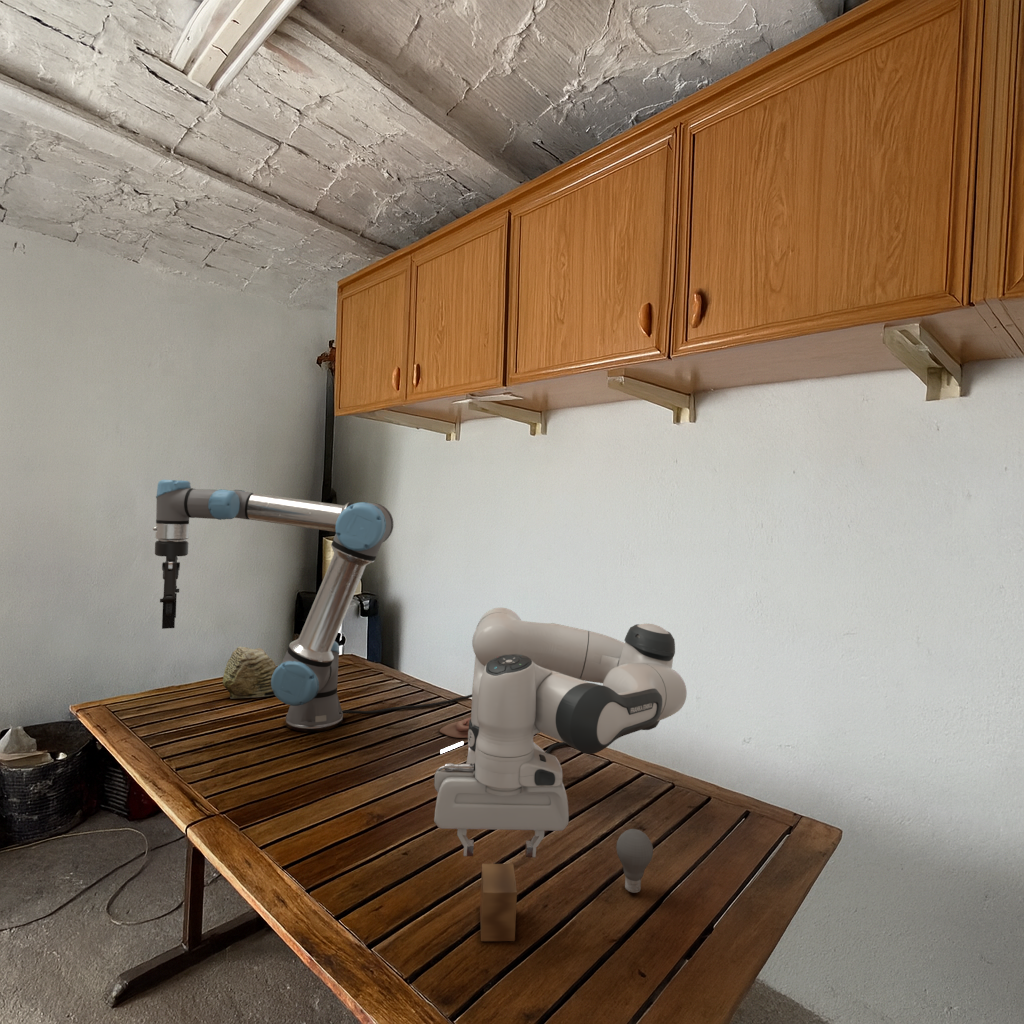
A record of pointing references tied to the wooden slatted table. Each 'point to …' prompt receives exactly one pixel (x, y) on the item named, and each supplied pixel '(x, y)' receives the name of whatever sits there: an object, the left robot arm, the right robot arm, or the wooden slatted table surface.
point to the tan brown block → (498, 902)
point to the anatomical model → (457, 729)
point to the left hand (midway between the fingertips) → (169, 623)
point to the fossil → (249, 673)
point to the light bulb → (634, 857)
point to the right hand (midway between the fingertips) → (499, 854)
